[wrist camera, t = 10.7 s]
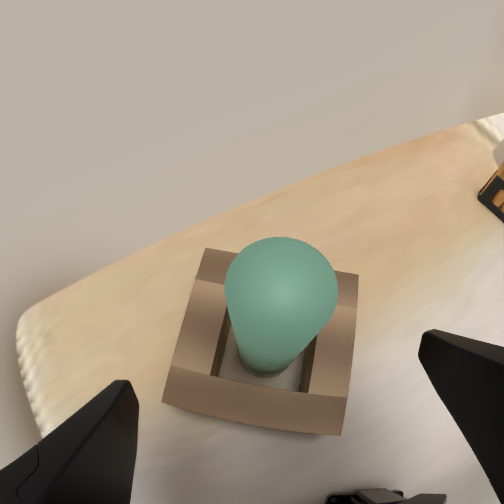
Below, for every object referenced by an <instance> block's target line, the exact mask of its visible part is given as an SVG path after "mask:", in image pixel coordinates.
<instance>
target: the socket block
mask: <svg viewBox="0 0 504 504" xmlns="http://www.w3.org/2000/svg"><path fill="white" fill-rule="evenodd" d="M237 255H238V253H232V252H227V251H221V250H216V249H210V248H205V251H204V254H203V257H202V260H201V263H200V267H199V270H198V273H197V276H196V279H195V283H194V286H193V289H192V293H191V296H190V299H189V303H188V306H187V309H186V313H185V316H184V320H183V323H182V327H181V330H180V334H179V337H178V341H177V344H176V348H175V352H174V355H173V359H172V363H171V367H170V370H169V374H168V378H167V382H166V386H165V390H164V394H163V398H162V402H163V403H166V404H169V405H172V406H176V407H179V408H182V409H186V410H189V411H193V412H197V413H200V414H204V415H208V416H212V417H217V418H221V419H225V420H230V421H234V422H239V423H244V424H250V425H255V426H261V427H267V428H273V429H280V430H287V431H295V432H303V433H313V434H325V435H340V436H341V431H342V425H343V420H344V414H345V408H346V402H347V396H348V389H349V382H350V374H351V366H352V358H353V349H354V338H355V327H356V314H357V298H358V277H359V275H356V274H351V273H345V272H339V271H334V273H335V275H336V279H337V283H338V300H337V304H336V307H335V310H334V312H333V314H332V316H331V318H330V319H329V321H328V322H327V323H326V324H325V326H324V327H323V328H322V329H321V330H320V331H319V333H318V334H317V335H316V336H315V337H314V338H313V339H312V341H311V342H310V343H309V344H308V345H307V346H306V351H305V358H304V364H303V370H302V376H301V381H300V387H299V392H295V391H288V390H281V389H275V388H269V387H263V386H258V385H253V384H248V383H243V382H238V381H233V380H228V379H224V378H219V377H218V374H219V370H220V366H221V362H222V358H223V353H224V349H225V345H226V341H227V336H228V332H229V328H230V324H231V320H230V316H229V312H228V307H227V303H226V299H225V292H224V283H225V277H226V274H227V271H228V268H229V266H230V264H231V263H232V261H233V260H234V258H235V257H236V256H237Z"/></svg>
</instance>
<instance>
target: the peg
mask: <svg viewBox="0 0 504 504" xmlns="http://www.w3.org/2000/svg"><path fill="white" fill-rule="evenodd" d="M224 292H225V299H226V303H227V307H228V312H229V316H230V320H231V324H232V328H233V332H234V336H235V340H236V344H237V348H238V352H239V356H240V360H241V362H242V364H243V366H244V367H245V368H246V369H247V370H248V371H249V372H250V373H252V374H254V375H256V376H260V377H272V376H275V375H278V374H280V373H281V372H283V371H284V370H285V369H286V368H287V367H288V366H289V365H290V364H291V363H292V362H293V360H294V359H295V358H296V357H297V356H298V355H299V354H300V353H301V352H302V351H303V349H304V348H305V347H306V346H307V345H308V344H309V343H310V342H311V341H312V339H313V338H314V337H315V336H316V335H317V334H318V333H319V331H320V330H321V329H322V328H323V327H324V326H325V324H326V323H327V322H328V321H329V319H330V318H331V316H332V314H333V312H334V310H335V307H336V304H337V300H338V283H337V279H336V275H335V273H334V270H333V268H332V266H331V265H330V263H329V262H328V260H327V259H326V258H325V257H324V256H323V255H322V254H321V253H320V252H319V251H318V250H317V249H315V248H314V247H312V246H311V245H309V244H307V243H305V242H302V241H300V240H297V239H293V238H286V237H273V238H267V239H262V240H260V241H257V242H255V243H253V244H250V245H249V246H247V247H246V248H244V249H243V250H242V251H241V252H240V253H239V254H238V255H237V256H236V257H235V258H234V260H233V261H232V263H231V264H230V266H229V268H228V271H227V274H226V277H225V283H224Z"/></svg>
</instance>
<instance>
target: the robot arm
mask: <svg viewBox="0 0 504 504" xmlns="http://www.w3.org/2000/svg"><path fill="white" fill-rule="evenodd" d="M418 357H419V360H420V362H421V364H422V366H423V368H424V369H425V371H426V373H427V375H428V377H429V379H430V381H431V383H432V385H433V386H434V388H435V390H436V392H437V394H438V395H439V397H440V398H441V400H442V402H443V403H444V405H445V406H446V408H447V409H448V411H449V412H450V414H451V416H452V417H453V419H454V420H455V422H456V424H457V425H458V427H459V428H460V430H461V432H462V433H463V435H464V437H465V438H466V440H467V442H468V443H469V445H470V447H471V448H472V450H473V452H474V454H475V455H476V457H477V459H478V461H479V462H480V464H481V466H482V468H483V470H484V471H485V473H486V475H487V477H488V479H489V481H490V483H491V485H492V487H493V489H494V491H495V493H496V495H497V497H498V499H499V501H500V503H501V504H504V347H502V346H498V345H494V344H490V343H486V342H482V341H478V340H474V339H470V338H466V337H463V336H459V335H455V334H451V333H448V332H444V331H440V330H436V329H432V330H429V331H426V332H424V333H423V335H422V339H421V343H420V347H419V352H418ZM138 418H139V402H138V399H137V397H136V394H135V392H134V390H133V387H132V385H131V383H130V381H128V380H115V381H113V382H112V383H111V384H110V385H109V386H107V387H106V388H105V389H104V390H102V391H101V392H100V393H99V394H98V395H96V396H95V397H94V398H93V399H91V400H90V401H89V402H88V403H87V404H85V405H84V406H83V407H82V408H80V409H79V410H78V411H77V412H76V413H74V414H73V415H72V416H71V417H69V418H68V419H67V420H66V421H64V422H63V423H62V424H61V425H60V426H58V427H57V428H56V429H55V430H53V431H52V432H51V433H50V434H48V435H47V436H46V437H45V438H43V439H42V440H41V441H40V442H38V445H35V446H33V447H32V448H31V449H30V450H29V451H27V452H26V453H24V454H23V455H22V456H20V457H19V458H18V459H16V460H15V461H14V462H12V463H10V464H9V465H8V466H6V467H4V468H3V469H1V470H0V504H130V499H131V490H132V483H133V475H134V468H135V461H136V454H137V440H138ZM398 494H399V495H398ZM332 498H335V500H334V501H333V502H330V500H331V499H332ZM446 499H447V495H445V494H419V495H416V496H414V497H412V498H409V499H406V498H404V497H403V492H402V491H400V490H394V491H389V490H387V489H385V488H384V489H370V490H357V491H355V492H354V493H347V494H330V495H328V496H327V498H326V500H325V504H446Z"/></svg>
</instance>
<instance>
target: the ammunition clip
mask: <svg viewBox="0 0 504 504" xmlns="http://www.w3.org/2000/svg"><path fill="white" fill-rule="evenodd" d="M478 200H479V201H480V202H481V203H482V204H483V205H485V206H486V207H487V208H488V209H489V210H490V211H491V212H493V213H494V214H495V215H496V216H497V217H498V218H499V219H500V220H501V221H502V222H503V223H504V162H503V163H502V165H501V166H500V168H499V169H498V170H497V171H496V172H495V173H494V175H493V176H492V177H491V178H490V179H489V181H488V182H487V183H486V184H485V185H484V187H483V188H482V189H481V190H480V191H479V195H478Z"/></svg>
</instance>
